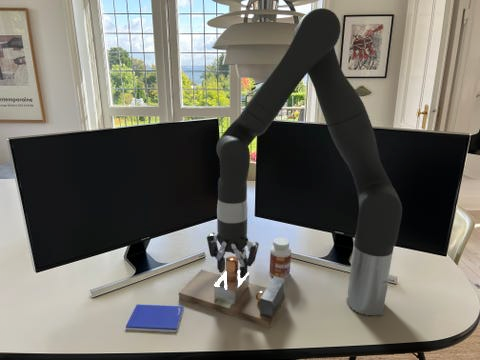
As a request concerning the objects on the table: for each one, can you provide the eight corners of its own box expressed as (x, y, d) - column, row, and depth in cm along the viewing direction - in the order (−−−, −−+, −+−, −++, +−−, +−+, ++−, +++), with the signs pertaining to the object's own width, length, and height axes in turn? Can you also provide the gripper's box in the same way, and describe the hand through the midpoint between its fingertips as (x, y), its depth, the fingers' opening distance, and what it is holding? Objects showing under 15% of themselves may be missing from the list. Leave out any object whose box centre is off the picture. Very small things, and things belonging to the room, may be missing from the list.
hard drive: (184, 305, 88) (137, 303, 89) (176, 328, 80) (125, 326, 81) (184, 310, 89) (137, 308, 89) (177, 333, 81) (126, 331, 81)
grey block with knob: (283, 295, 91) (284, 279, 89) (271, 318, 82) (272, 301, 81) (262, 289, 93) (263, 273, 92) (248, 311, 85) (249, 294, 83)
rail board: (284, 299, 92) (285, 292, 92) (269, 328, 82) (270, 321, 81) (201, 275, 102) (201, 269, 102) (179, 298, 92) (178, 292, 91)
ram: (248, 285, 94) (249, 253, 91) (235, 304, 86) (235, 271, 83) (229, 279, 97) (229, 248, 93) (214, 298, 89) (213, 265, 86)
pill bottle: (273, 281, 100) (275, 247, 97) (266, 269, 106) (267, 237, 102) (293, 277, 102) (295, 244, 98) (284, 266, 108) (286, 235, 104)
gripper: (264, 214, 85) (262, 273, 90) (214, 205, 90) (214, 260, 96) (253, 227, 78) (251, 289, 84) (199, 215, 84) (201, 274, 89)
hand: (232, 273), depth 90 cm, fingers open, 5 cm apart
